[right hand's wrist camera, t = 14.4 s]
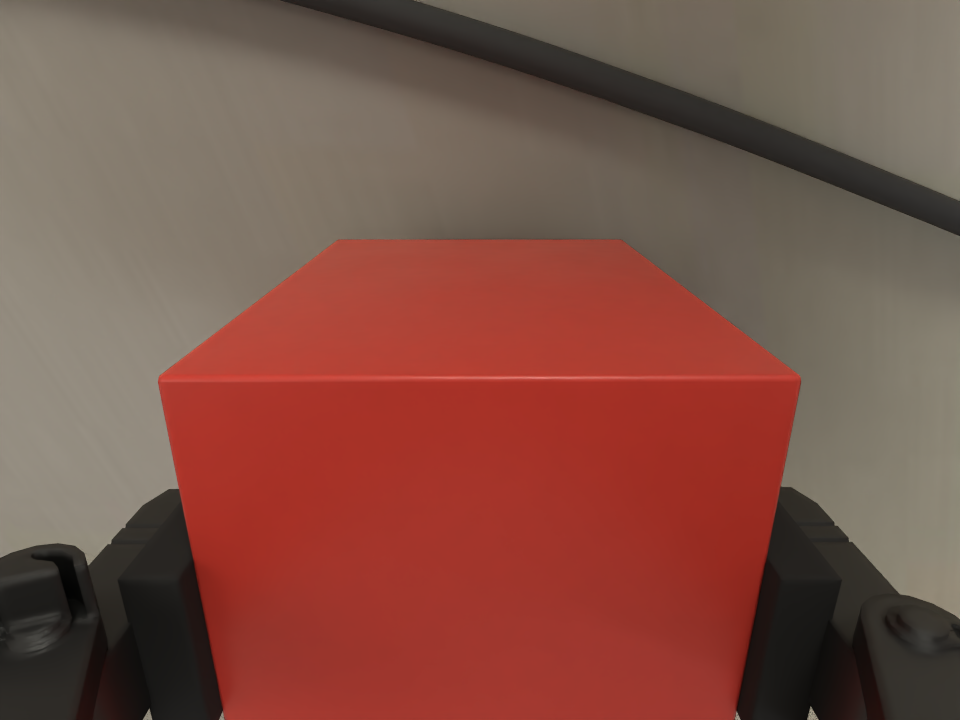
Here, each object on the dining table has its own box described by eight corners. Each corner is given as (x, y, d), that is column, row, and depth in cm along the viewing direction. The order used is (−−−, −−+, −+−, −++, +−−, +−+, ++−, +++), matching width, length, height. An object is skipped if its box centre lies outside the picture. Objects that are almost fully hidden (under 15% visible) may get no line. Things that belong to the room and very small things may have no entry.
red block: (602, 493, 19) (716, 827, 10) (356, 493, 19) (243, 828, 10) (622, 239, 16) (805, 375, 7) (336, 239, 16) (154, 377, 7)
